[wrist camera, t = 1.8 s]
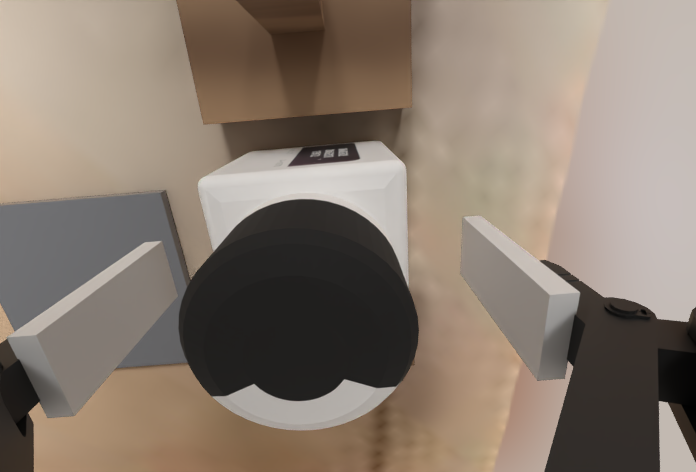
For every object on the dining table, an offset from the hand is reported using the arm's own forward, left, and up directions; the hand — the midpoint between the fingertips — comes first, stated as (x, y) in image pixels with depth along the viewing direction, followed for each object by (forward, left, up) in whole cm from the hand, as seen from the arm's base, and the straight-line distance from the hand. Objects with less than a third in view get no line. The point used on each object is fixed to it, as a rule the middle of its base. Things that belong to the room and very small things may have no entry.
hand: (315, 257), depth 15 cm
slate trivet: (+4, -15, -6) cm, 17 cm away
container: (0, 0, -6) cm, 6 cm away
